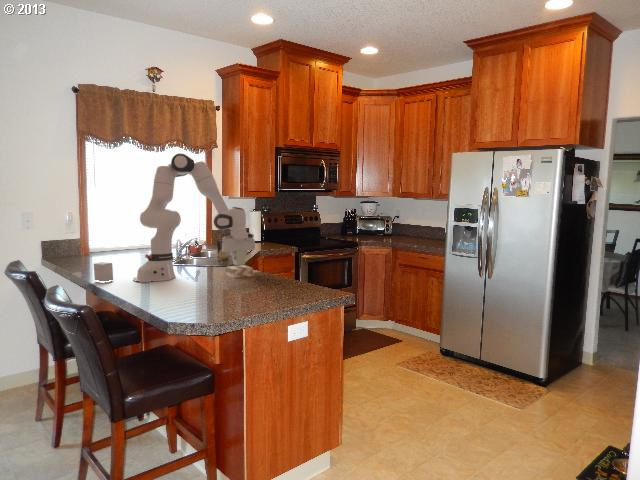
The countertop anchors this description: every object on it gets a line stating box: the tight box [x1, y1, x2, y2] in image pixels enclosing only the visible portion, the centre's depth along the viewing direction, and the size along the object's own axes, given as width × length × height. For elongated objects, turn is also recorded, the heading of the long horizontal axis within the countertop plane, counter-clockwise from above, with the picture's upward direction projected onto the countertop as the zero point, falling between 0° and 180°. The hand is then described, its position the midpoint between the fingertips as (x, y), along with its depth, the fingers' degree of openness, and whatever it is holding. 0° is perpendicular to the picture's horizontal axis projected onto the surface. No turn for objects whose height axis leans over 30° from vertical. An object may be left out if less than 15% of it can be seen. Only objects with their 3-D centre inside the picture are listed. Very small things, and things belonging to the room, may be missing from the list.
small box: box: [93, 261, 114, 281], centre depth 254 cm, size 8×6×10 cm
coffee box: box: [216, 239, 234, 266], centre depth 312 cm, size 9×6×16 cm
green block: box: [232, 251, 246, 266], centre depth 273 cm, size 5×5×8 cm
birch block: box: [225, 264, 254, 279], centre depth 274 cm, size 12×12×5 cm
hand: (238, 258), depth 273 cm, fingers closed on green block, 5 cm apart
